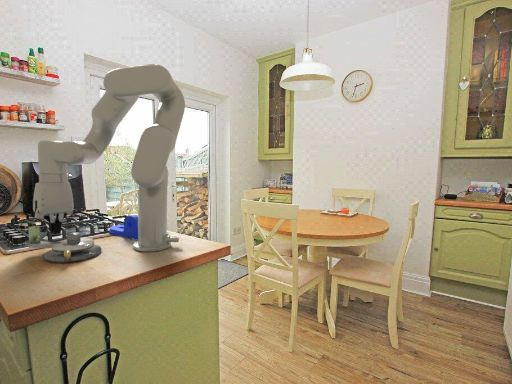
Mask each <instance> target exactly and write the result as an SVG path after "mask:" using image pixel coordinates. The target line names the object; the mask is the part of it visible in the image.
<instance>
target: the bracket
mask: <svg viewBox="0 0 512 384" xmlns="http://www.w3.org/2000/svg"><path fill="white" fill-rule="evenodd" d="M110 232H111V233H112V234H111V235H114V236H119V237H123V238H128V239H133V240H137V241H138V215H136V214H131V215H128V216H126V217H125V218H124V219H123V224H117V225H112V226H110V227H109V233H110Z"/></svg>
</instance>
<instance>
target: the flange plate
mask: <svg viewBox="0 0 512 384" xmlns="http://www.w3.org/2000/svg"><path fill="white" fill-rule="evenodd" d="M41 238H42V235H41V226H40V225H33V226H28V248H29V249H51V250H53V251H54V252H60V253H64V251H66V250H71V252H78V251H83V250H86V249H89V248H91V247H93V246H94V245H95V240H94V239H93V238H87V237H81V232H78V231H77V232H76V231H73V232H68V233H66V239H63V240H59V241H42V239H41Z"/></svg>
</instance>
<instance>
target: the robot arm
mask: <svg viewBox="0 0 512 384" xmlns="http://www.w3.org/2000/svg"><path fill="white" fill-rule="evenodd" d="M102 84H103V87H104V90H105V91H104V92H105V93H103V95H101V98H100V99H99V100H98V102H97V103H95V105H94V106H93V108H92V110H91V120H92V123H91V124H92V126H91V128H90V131H89V132H88V133H87V135H86V136H85V138H84V139H83V140H82V141H77V140H70V141H61V140H51V139H50V140H47V139H46V140H45V139H42V140H40V141H39V142H38V143H37V154H38V156H37V158H38V182H36V183H35V184H34V186H35V187H34V191H33V199H32V209H33V212H34V213H35V214H34V218H35V219H42V220H43V219H44V220H45V221H46V222H48V231H49V233H50V234H52V235H59V234H61V231H62V222H64V219H65V218H66V217H67V216H70V215H72V214H74V196H73V190H72V187H71V182H69V180H72V178H73V177H72V176H73V175H71V174H69V173H68V172H69V171H68V165H75V166H79V165H90V164H93V163H95V162H96V161H97V160H99V158H101V156H102V155H103V154H104V152H105V151H106V149H107V148H108V147H109V145H110V143H111V141H112V139H113V138H114V135H115V133H116V130H117V128H118V126H119V125H120V123H122V121H123V120H124V118H125V117H126V115H127V114H128V113H129V111H130V110H131V109H132V108H133V106H134V105H135V104H136V102H137V101H138V100H139V97H140V96H145V95H153V96H154V97H155V98H156V99H157V100H158V101H159V105H158V108H157V110H156V114H155V117H154V121H153V123H152V124H151V125H148V127H146V128H145V129H144V130H143V131H142V133H141V135H140V138H139V141H138V144H137V148H136V151H135V154H134V157H133V160H132V164H131V169H130V172H131V173H130V174H131V177H132V179H133V181H134V182H135V183H136V185H137V186H138V191H137V194H138V195H137V217H138V239H137V241H134V242H133V245H132V248H133V249H134V250H136V251H140V252H144V253H145V252H151V253H152V252H159V251H163V250H167V249H168V248H170V247H171V246H172V243H179V242H180V237H179V236H177V235H170V234H169V233H170V232H169V231H167V229H168V228H167V225H168V221H167V220H168V218H167V216H168V208H167V207H168V187H169V186H168V185H169V184H168V183H169V169H168V166H167V162H168V161H169V157H170V154H171V153H172V152H173V151H174V149H175V147H176V142H177V140H178V135H179V133H180V128H181V125H182V120H183V118H184V114H185V109H186V101H185V97H184V94H183V92H182V90H181V89H180V87H179V86H178V85H177V83H176V82H175V81H174V79H173V77H172V75H171V73H170V71H169V69H167V67H164V66H163V65H160V64H156V63H150V64H141V65H135V66H127V67H120V68H119V67H118V68H115V69H112V70H110V71H108V72H107V73H106V74H105V76H104V78H103V82H102Z"/></svg>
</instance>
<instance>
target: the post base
mask: <svg viewBox="0 0 512 384" xmlns="http://www.w3.org/2000/svg"><path fill="white" fill-rule="evenodd" d="M101 254H102V247H101V245H98V244H94V246H93V247H91V248H89V249H86V250H83V251H78V252H71V250H66V251H64V253H60V252H54V251H53V250H52V249H50V250H47V251H46V252H45V253H44V254H43V260H44V261H45V262H47V263H51V264H72V263H80V262H83V261H87V260H90V259H94V258H95V257H97V256H99V255H101Z"/></svg>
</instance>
